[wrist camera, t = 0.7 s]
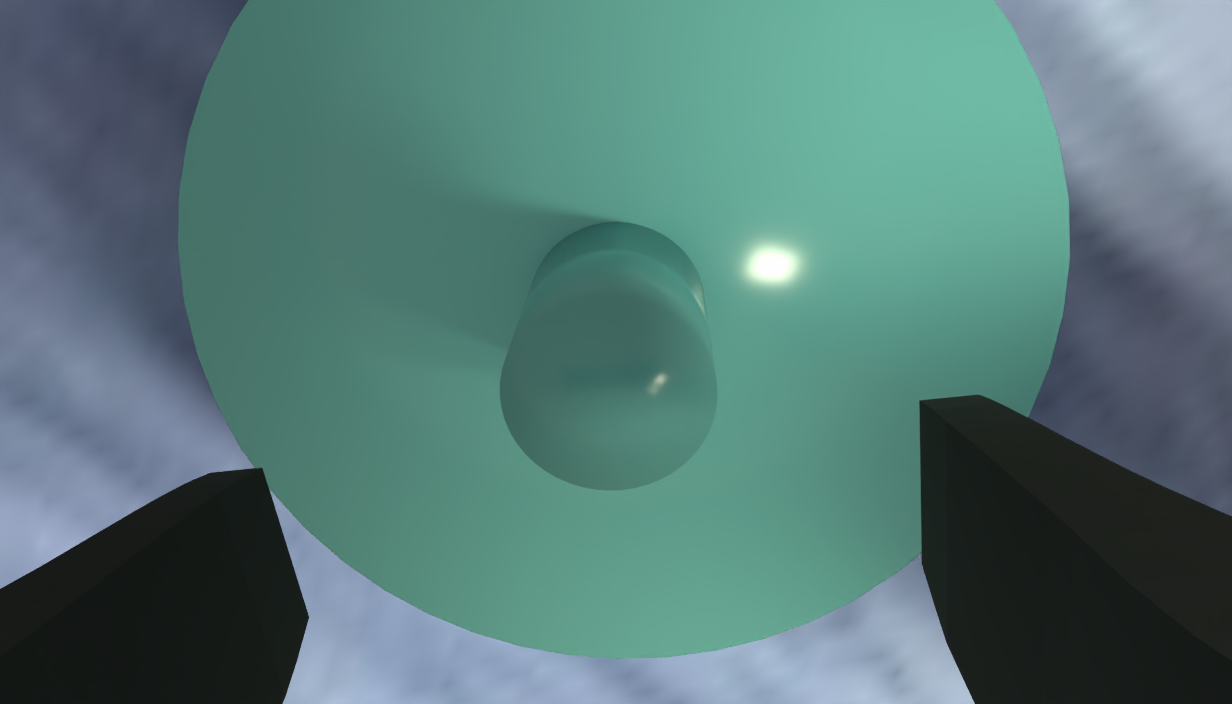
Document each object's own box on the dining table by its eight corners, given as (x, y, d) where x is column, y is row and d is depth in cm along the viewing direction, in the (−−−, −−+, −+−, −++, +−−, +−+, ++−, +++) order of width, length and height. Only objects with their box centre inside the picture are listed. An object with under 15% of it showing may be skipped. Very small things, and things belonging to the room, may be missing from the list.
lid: (1072, -262, 14) (1239, -342, 10) (1037, 599, 20) (1134, 767, 16) (76, -107, 15) (-128, -123, 11) (317, 660, 21) (238, 828, 17)
